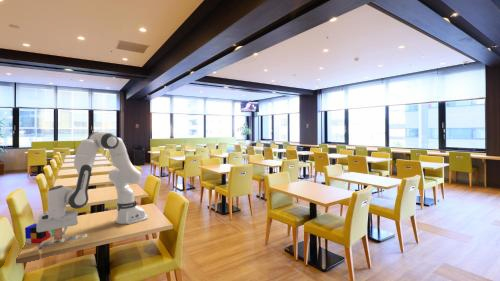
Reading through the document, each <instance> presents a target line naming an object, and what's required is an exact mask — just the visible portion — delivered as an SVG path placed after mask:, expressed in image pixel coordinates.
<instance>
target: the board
mask: <svg viewBox="0 0 500 281" xmlns="http://www.w3.org/2000/svg"><path fill="white" fill-rule="evenodd" d="M86 237H87V238H88V234H87V233H82V234H77V235H74V236H69V237H65V238H61V239H58V240H54V239H53V240H51V241H44V242H42V243H40V244H37V245H38V249H37V250H38V251H41V250H42V249H43V247H47V246H51V245H56V244H61V243H64V242H68V241H73V240H78V239H83V238H86Z"/></svg>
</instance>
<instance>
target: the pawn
mask: <svg viewBox="0 0 500 281" xmlns="http://www.w3.org/2000/svg"><path fill="white" fill-rule="evenodd" d="M62 231H63V228H58V229H54V237H53V241H54V240H59V239H63V235H62Z"/></svg>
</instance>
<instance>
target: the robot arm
mask: <svg viewBox="0 0 500 281" xmlns="http://www.w3.org/2000/svg"><path fill="white" fill-rule="evenodd" d="M100 149H106V150H108V152H109V156H110V159H111V163H112V165H113V166H114V167H115V168H114V169H111V170H110V171H109V173H108V180H109V181H110V182H111V183H112V184H113V185H114V187H115V189H116V194H117V195H116V196H117V203H116V210H117V213H116V214H117V215H116V220H115V223H116V224H119V225H120V224H121V225H123V224H124V225H131V224H134V223H138V222H142V221H145V220H148V219H149V214H147V213H146V211H145V209H144V208H142V207H141V206H139V201H136V200H135V190H133V188H132V187H131V186H130V185H135V184H139V183H140V182H141V180H142V178H143V177H142V172H141V171H140V170H139V169H137V168H136V167H135V166H134V165H133V164H132V163H133V162H131V160H130V157H129V154H128V150H127V148H126V145H125V143H124V140H123V139H122V138H121V137H117V136H116V135H115V134H113V133H110V132H105V131H95V132H92V133H90V134H89V135H88V137H87V138H86V139H82V140H81V141H80V143H79V145H78V147H77V148H76V152H75V156H74V160H73V166H74V168H75V170H76V171H77V180H76V181H77V182H76V186H75V188H71V187H66V186H64V185H61V184H60V185H56V186H52V187H50V188H49V189H48V191H47V201H46V202H47V205H48V207H47V210H46V211H45V212H42V213H39V215H38V219H37V222H36V223H37V227H36V231H37V232H44V231H49V233H50V234H51V238H54V233H52V232H51V231H52V230H54V229H58V228H62V229H63V230H62V236H64V235H66V231H67V229H68V227H73V226H74V227H75V226H77V225H78V223H79V222H78V215H79V212H78V211H77V210H75V209H78V210H79V209H81V208H84V207H85V206H86V205H87V204H88V202H89V194H88V190H89V186H90V181H91V176H92V170H93V167H94V163H95V160H96V156H97V152H98V151H99V150H100ZM68 205H69V207H70V208H73V210H67V206H68Z"/></svg>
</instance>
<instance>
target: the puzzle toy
mask: <svg viewBox="0 0 500 281" xmlns="http://www.w3.org/2000/svg"><path fill="white" fill-rule="evenodd" d="M36 227H37V222H35V223H33V224H30V225H28V226H25V228H24V236H25V244H26V243H29V244H28V245H39V244H40V243H44V242H46V241H47V240H48V239H50V238H52V237H51V234H50V233H49V231H44V232H37V231H36ZM51 232H52V233H54V230H52V231H51Z"/></svg>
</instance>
